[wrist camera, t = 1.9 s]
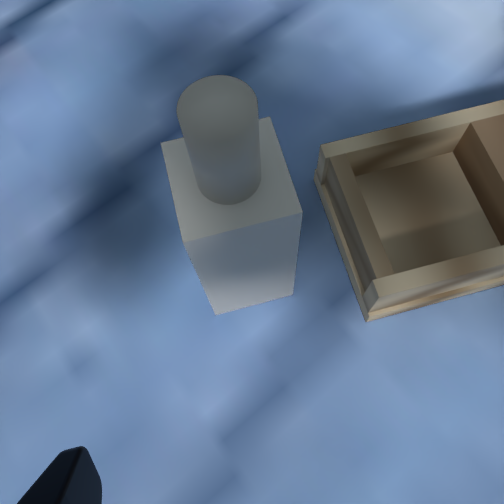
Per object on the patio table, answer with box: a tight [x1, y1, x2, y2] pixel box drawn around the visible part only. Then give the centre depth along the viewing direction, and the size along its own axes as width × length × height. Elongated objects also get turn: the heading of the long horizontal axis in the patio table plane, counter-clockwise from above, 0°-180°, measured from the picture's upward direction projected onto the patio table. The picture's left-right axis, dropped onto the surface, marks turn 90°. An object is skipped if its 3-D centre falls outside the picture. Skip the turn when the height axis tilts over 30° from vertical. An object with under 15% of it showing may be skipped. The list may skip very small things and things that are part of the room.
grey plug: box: [161, 75, 303, 315], centre depth 18 cm, size 4×4×12 cm
